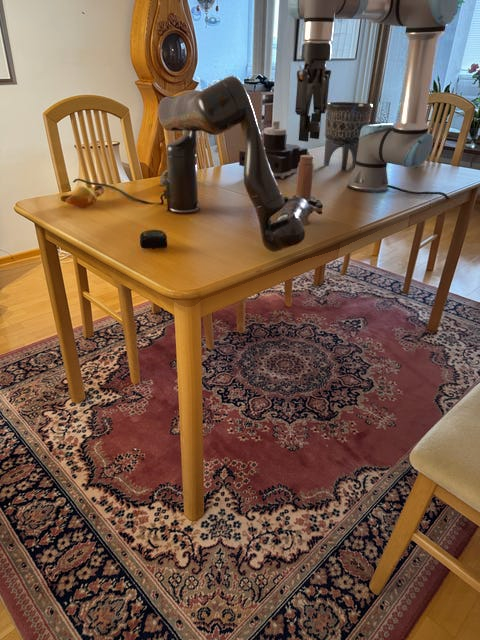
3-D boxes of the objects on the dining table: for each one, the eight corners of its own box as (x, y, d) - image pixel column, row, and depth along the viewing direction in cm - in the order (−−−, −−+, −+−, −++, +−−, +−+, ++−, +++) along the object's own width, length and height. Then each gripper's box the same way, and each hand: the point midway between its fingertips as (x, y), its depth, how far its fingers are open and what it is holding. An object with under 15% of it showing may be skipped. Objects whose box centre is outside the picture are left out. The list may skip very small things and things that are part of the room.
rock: (185, 178, 183) (185, 162, 179) (198, 183, 177) (198, 166, 174) (157, 184, 175) (156, 166, 172) (169, 189, 170) (168, 171, 166)
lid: (308, 128, 129) (308, 120, 128) (322, 130, 126) (323, 122, 125) (296, 130, 126) (297, 121, 125) (311, 132, 123) (312, 123, 122)
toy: (54, 197, 144) (75, 185, 156) (65, 216, 146) (84, 202, 159) (84, 187, 140) (103, 175, 153) (94, 206, 143) (111, 193, 156)
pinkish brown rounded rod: (296, 224, 137) (302, 157, 127) (291, 220, 140) (297, 154, 131) (310, 224, 138) (316, 157, 128) (305, 219, 141) (311, 154, 131)
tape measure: (140, 252, 115) (139, 238, 113) (141, 242, 120) (140, 229, 119) (167, 251, 116) (166, 237, 114) (167, 241, 121) (166, 228, 120)
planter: (313, 167, 208) (319, 103, 195) (331, 160, 222) (338, 101, 209) (353, 173, 199) (362, 107, 185) (369, 166, 213) (379, 104, 199)
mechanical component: (240, 120, 182) (283, 115, 202) (239, 174, 192) (280, 164, 212) (283, 126, 170) (325, 120, 190) (280, 183, 180) (320, 171, 200)
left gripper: (322, 203, 120) (329, 188, 135) (269, 198, 123) (281, 184, 138) (319, 230, 124) (326, 213, 138) (268, 225, 127) (280, 208, 141)
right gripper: (322, 43, 123) (314, 134, 135) (284, 41, 111) (279, 142, 123) (347, 43, 119) (336, 137, 131) (310, 41, 107) (302, 145, 119)
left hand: (304, 198), depth 138 cm, fingers closed on pinkish brown rounded rod, 4 cm apart
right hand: (308, 139), depth 127 cm, fingers closed on lid, 5 cm apart
